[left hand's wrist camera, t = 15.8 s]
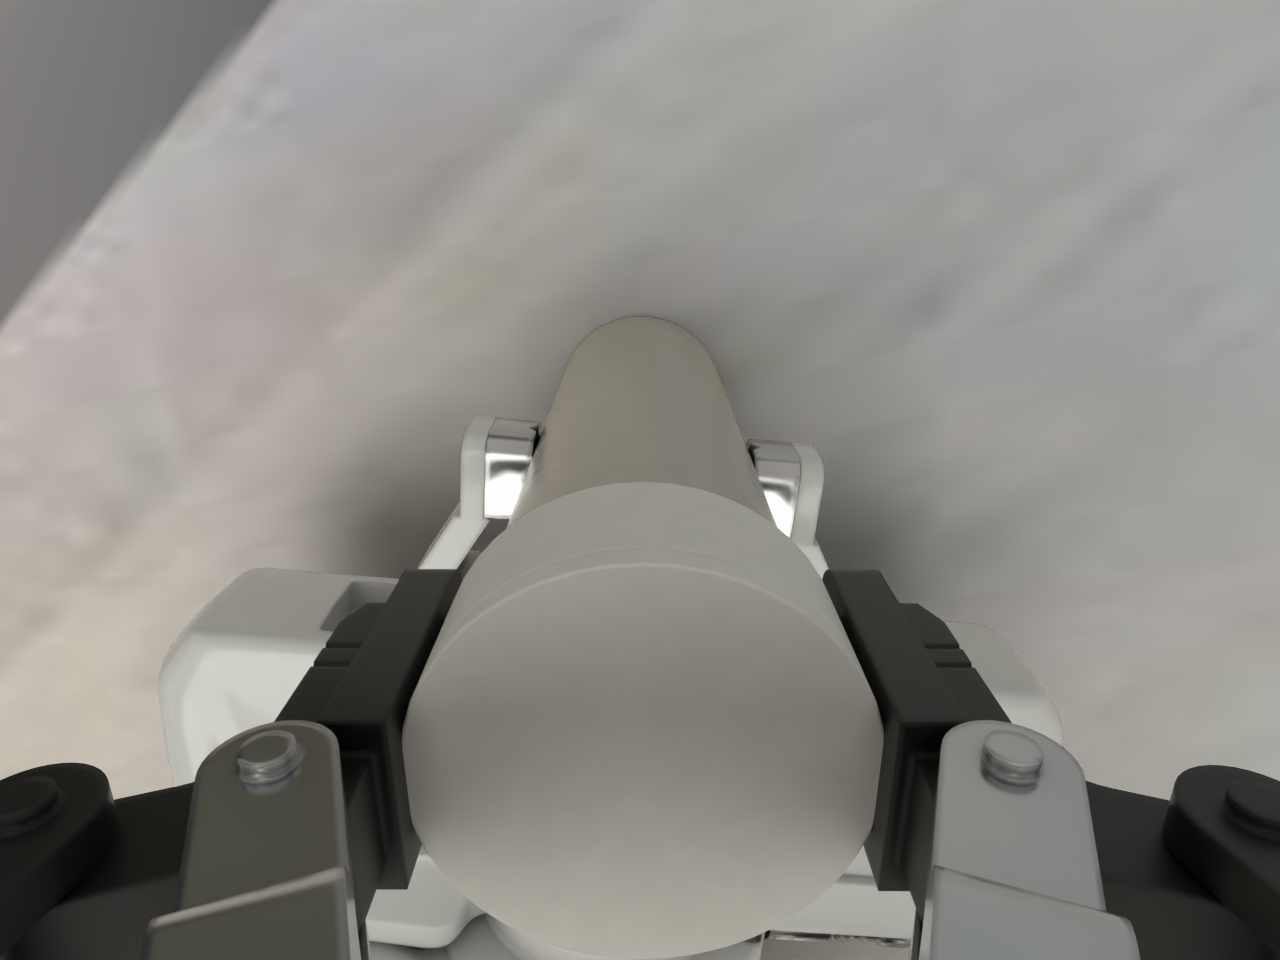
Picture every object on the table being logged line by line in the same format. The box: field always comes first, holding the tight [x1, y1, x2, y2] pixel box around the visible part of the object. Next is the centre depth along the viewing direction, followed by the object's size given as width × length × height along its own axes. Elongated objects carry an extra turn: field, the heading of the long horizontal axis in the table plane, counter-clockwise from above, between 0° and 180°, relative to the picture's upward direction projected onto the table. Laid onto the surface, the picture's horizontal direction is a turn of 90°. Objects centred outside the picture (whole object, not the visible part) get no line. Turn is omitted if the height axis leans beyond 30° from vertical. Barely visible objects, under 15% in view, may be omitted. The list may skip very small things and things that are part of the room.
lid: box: [402, 482, 884, 959], centre depth 10 cm, size 5×5×2 cm
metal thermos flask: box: [506, 317, 778, 529], centre depth 17 cm, size 5×5×16 cm
